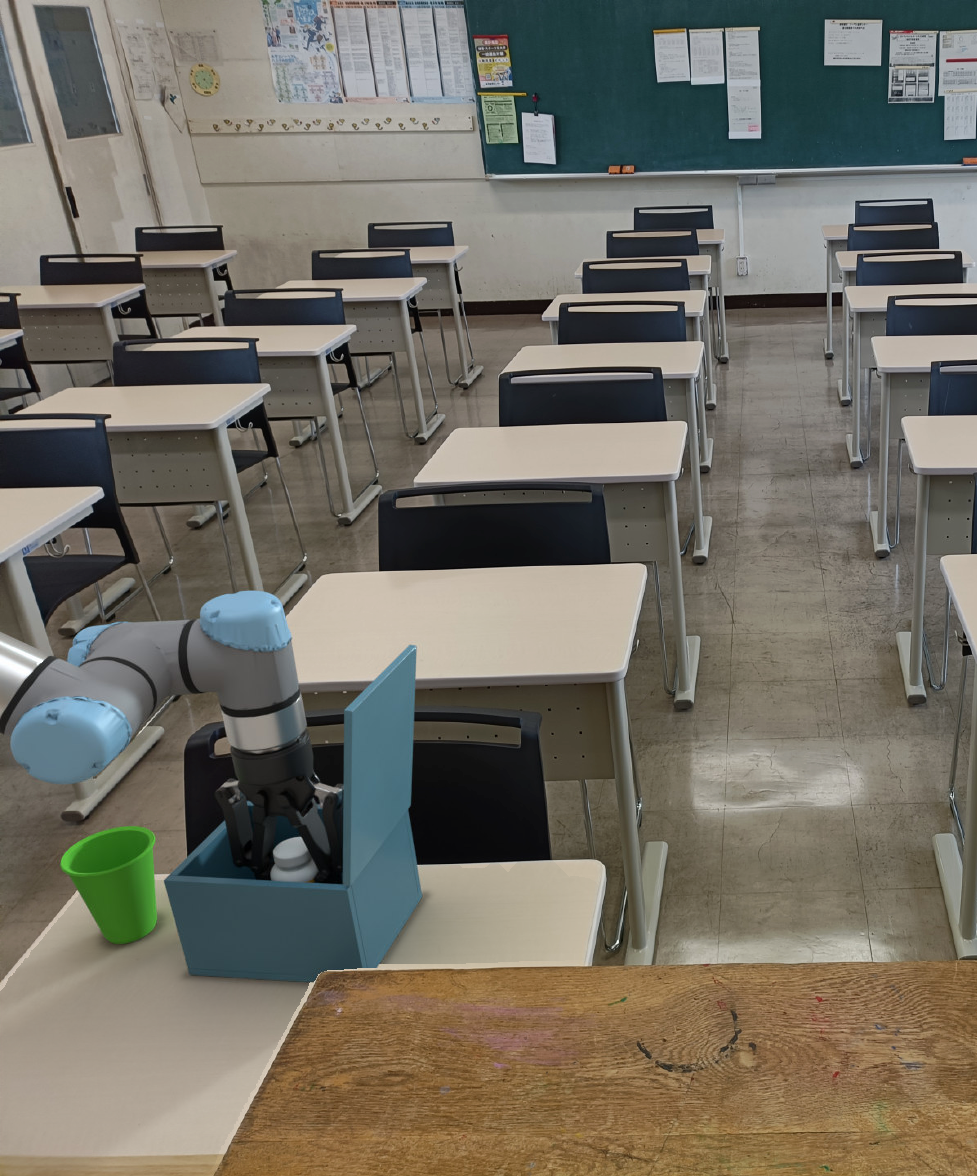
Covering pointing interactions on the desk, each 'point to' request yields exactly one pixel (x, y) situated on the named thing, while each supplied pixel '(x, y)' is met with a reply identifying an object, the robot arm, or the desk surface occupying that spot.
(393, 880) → the chest
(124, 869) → the cup
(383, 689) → the lid
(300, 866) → the supplement bottle
